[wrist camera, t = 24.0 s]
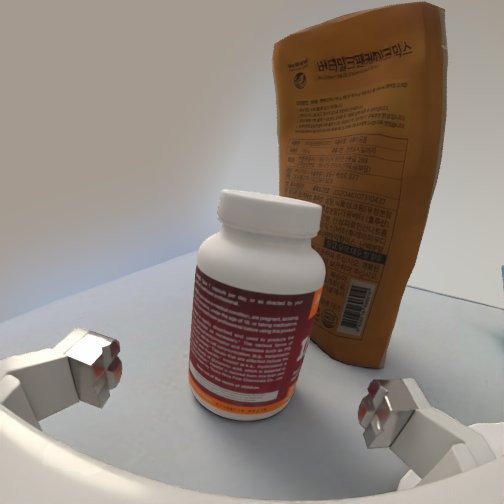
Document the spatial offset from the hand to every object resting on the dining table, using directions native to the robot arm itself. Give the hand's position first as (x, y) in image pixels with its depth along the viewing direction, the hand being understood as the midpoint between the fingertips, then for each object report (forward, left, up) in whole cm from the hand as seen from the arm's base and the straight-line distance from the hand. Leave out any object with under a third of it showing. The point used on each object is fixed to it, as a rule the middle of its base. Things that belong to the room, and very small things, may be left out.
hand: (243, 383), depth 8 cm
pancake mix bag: (-3, +17, -6) cm, 18 cm away
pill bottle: (-3, +6, -6) cm, 9 cm away
